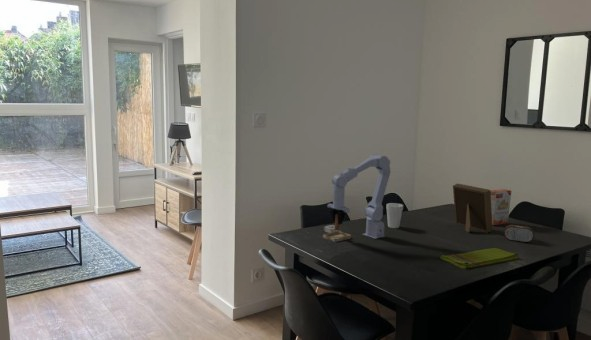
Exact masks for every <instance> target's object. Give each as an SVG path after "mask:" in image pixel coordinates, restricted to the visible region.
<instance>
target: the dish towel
mask: <svg viewBox="0 0 591 340" xmlns="http://www.w3.org/2000/svg"><path fill="white" fill-rule="evenodd" d="M518 254H519V253H512V252H510V251H506V250H503V249H501V248H496V247H492V248H485V249H479V250H473V251H469V252H463V253H456V254H448V255H443V254H441V255H440V257H439V258H440V259H441V260H443V261H446V262H448V263H450V264H452V265H454V266H455V267H458V268H461V269H464V270H466V269H472V268H476V267H481V266H488V265H492V264H493V265H494V264H498V263H503V262H508V261H509V262H510V261H513V259H514V260H517V258H518V259H519V255H518Z"/></svg>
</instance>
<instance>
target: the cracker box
mask: <svg viewBox="0 0 591 340" xmlns="http://www.w3.org/2000/svg"><path fill="white" fill-rule="evenodd" d="M489 190H490V192H491V211H492V225H493V226H494V225H495V226H500V225H506V223H507V224H509V217H510V215H509V214H510V207H511V200H512V199H511V197H512V190H510V189H506V188H500V189H499V188H498V189H489ZM493 226H492V227H493Z"/></svg>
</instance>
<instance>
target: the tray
mask: <svg viewBox="0 0 591 340" xmlns="http://www.w3.org/2000/svg"><path fill="white" fill-rule="evenodd" d="M352 238H353V235H352V234H349V233H346V232H344V231H336V232H332V233H328V232H326V233H322V239H325V240H329V241H331V242H333V243H337V242H343V241H345V240H350V239H352Z"/></svg>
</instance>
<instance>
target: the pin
mask: <svg viewBox="0 0 591 340" xmlns="http://www.w3.org/2000/svg"><path fill="white" fill-rule="evenodd" d="M334 225H335V230H340V227H341V226H342V224H338V215H337V214H335V223H334Z"/></svg>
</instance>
